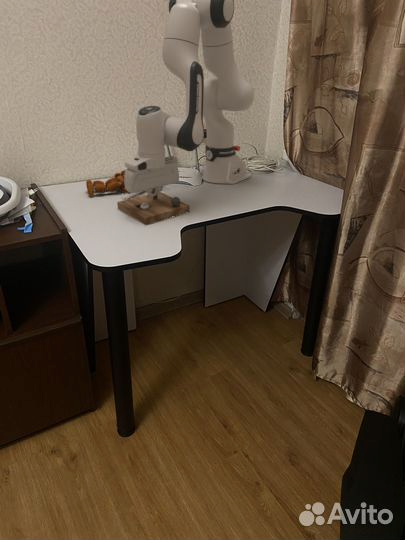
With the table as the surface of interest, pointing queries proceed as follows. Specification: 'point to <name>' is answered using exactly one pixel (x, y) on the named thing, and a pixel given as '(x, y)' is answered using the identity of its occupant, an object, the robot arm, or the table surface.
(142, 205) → the steel ball
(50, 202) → the table surface
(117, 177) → the toy
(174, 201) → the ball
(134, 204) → the wooden board with hole
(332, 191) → the table surface
